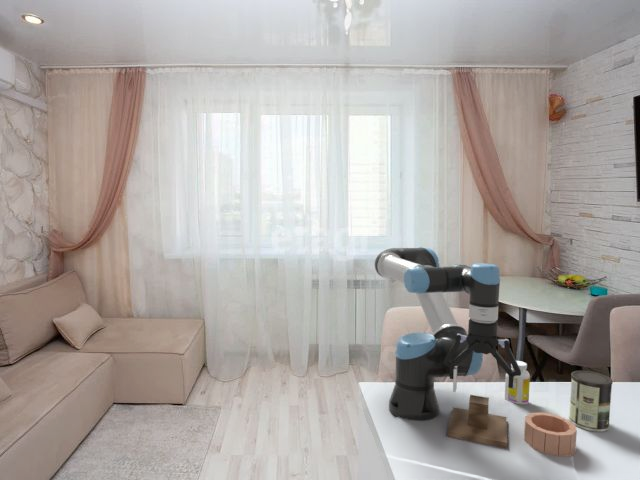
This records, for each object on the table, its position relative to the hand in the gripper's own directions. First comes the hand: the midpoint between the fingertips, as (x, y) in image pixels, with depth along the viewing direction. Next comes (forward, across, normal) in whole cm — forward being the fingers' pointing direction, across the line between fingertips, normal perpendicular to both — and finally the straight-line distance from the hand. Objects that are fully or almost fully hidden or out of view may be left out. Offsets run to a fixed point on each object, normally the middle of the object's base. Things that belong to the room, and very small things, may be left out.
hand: (479, 394), depth 124 cm
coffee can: (+11, +30, +18) cm, 37 cm away
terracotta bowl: (+11, +18, 0) cm, 21 cm away
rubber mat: (+11, 0, 0) cm, 11 cm away
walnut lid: (+10, 0, 0) cm, 10 cm away
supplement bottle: (+11, +11, +25) cm, 30 cm away
